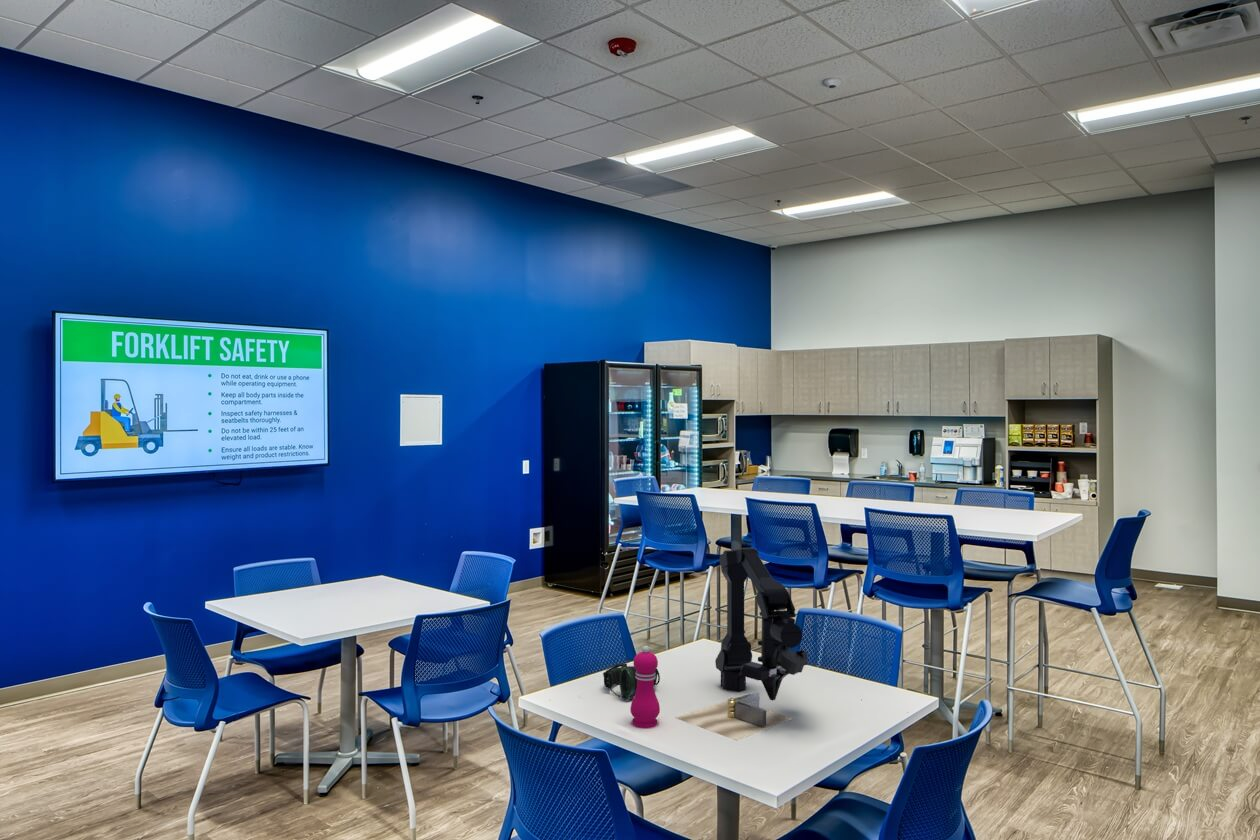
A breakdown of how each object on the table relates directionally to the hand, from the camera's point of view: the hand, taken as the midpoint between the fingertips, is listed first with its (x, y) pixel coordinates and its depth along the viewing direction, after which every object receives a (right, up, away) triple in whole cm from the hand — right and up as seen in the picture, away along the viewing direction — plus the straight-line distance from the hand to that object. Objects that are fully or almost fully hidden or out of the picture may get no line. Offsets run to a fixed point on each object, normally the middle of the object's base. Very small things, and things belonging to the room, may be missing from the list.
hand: (772, 699), depth 205 cm
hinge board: (-10, -6, +1) cm, 11 cm away
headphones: (-35, -6, +23) cm, 43 cm away
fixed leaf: (-7, -5, +5) cm, 9 cm away
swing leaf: (-7, -4, -2) cm, 8 cm away
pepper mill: (-32, -6, -4) cm, 33 cm away
